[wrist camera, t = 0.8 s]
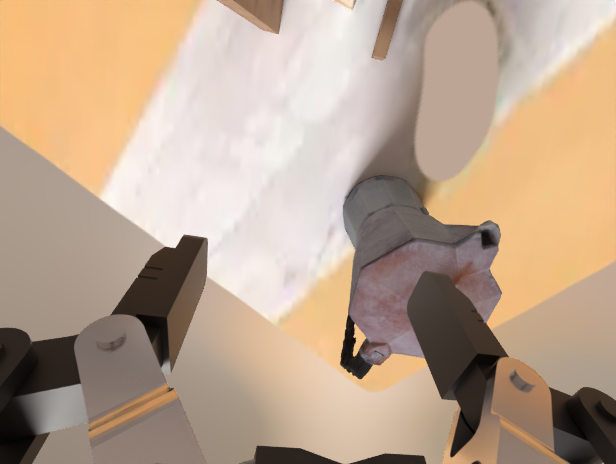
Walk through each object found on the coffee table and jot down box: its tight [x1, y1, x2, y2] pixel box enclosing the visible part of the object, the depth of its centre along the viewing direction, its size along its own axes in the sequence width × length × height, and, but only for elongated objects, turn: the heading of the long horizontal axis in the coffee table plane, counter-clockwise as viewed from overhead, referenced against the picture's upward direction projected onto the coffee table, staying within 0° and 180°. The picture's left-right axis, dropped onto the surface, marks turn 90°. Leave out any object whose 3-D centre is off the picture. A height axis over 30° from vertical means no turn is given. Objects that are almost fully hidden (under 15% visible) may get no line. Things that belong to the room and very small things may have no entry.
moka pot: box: [340, 176, 502, 379], centre depth 26 cm, size 10×15×20 cm, turn 153°
